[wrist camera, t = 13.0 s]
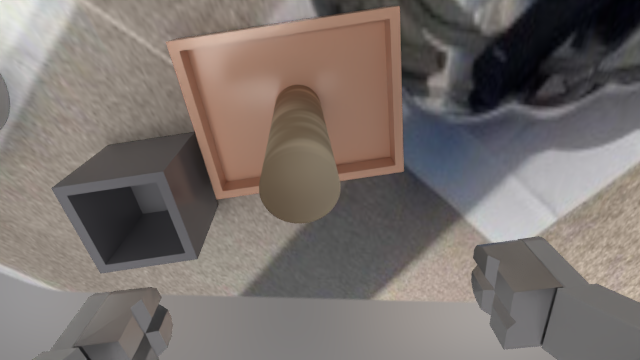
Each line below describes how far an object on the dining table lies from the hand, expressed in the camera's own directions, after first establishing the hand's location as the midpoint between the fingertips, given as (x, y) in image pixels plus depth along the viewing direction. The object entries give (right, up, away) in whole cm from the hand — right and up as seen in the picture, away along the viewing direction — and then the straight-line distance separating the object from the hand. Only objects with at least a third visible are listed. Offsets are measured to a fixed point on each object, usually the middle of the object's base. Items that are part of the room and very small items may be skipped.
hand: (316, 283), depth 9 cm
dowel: (-1, +8, +15) cm, 17 cm away
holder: (-12, +3, +18) cm, 22 cm away
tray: (-1, +8, +16) cm, 18 cm away
